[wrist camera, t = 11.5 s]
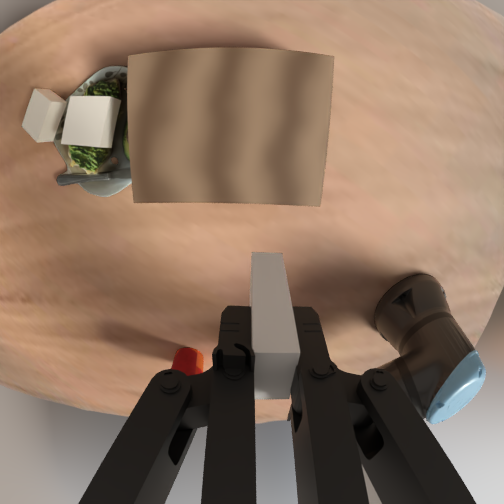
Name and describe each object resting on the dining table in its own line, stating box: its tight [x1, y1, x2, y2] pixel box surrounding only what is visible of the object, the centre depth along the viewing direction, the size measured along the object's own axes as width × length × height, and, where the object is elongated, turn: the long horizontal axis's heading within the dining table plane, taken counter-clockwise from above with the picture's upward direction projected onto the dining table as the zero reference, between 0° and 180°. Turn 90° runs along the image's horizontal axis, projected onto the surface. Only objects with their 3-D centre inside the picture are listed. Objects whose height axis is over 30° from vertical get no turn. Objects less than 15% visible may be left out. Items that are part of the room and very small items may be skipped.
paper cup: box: [171, 348, 203, 376], centre depth 49 cm, size 8×8×14 cm
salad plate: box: [53, 66, 132, 197], centre depth 33 cm, size 19×18×5 cm
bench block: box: [127, 47, 334, 207], centre depth 30 cm, size 20×16×9 cm
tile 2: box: [22, 88, 68, 143], centre depth 29 cm, size 6×6×3 cm
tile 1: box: [61, 96, 121, 148], centre depth 28 cm, size 6×6×3 cm
